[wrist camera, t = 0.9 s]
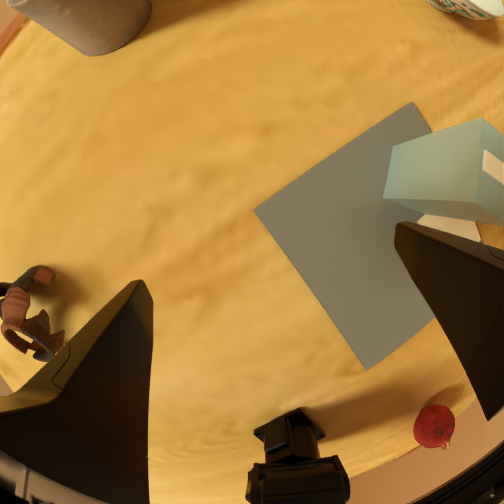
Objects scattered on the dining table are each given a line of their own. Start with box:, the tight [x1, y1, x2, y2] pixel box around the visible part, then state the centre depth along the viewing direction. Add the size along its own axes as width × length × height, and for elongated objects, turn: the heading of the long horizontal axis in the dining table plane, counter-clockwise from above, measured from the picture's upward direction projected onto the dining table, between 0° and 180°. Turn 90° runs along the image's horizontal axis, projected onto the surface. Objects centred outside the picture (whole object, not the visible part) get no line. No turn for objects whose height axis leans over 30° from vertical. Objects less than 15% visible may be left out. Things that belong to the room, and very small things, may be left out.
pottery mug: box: [0, 267, 65, 362], centre depth 23 cm, size 12×10×8 cm
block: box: [383, 118, 504, 227], centre depth 16 cm, size 5×5×12 cm
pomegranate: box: [413, 405, 455, 450], centre depth 24 cm, size 6×6×8 cm
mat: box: [253, 102, 481, 371], centre depth 23 cm, size 20×19×1 cm
